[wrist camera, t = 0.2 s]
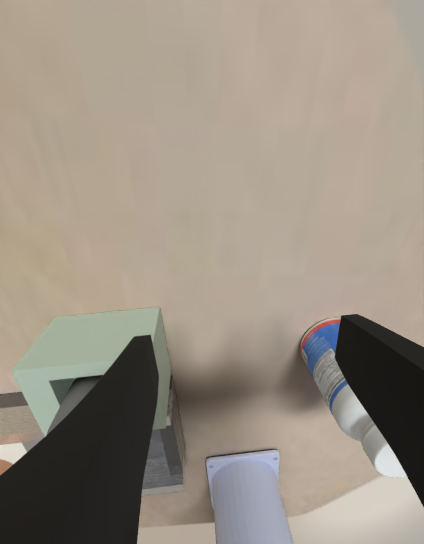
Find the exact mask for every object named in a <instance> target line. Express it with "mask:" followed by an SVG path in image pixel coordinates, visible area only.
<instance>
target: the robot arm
mask: <svg viewBox="0 0 424 544" xmlns="http://www.w3.org/2000/svg"><path fill="white" fill-rule="evenodd" d="M334 358H335V360H336V362H337V364H338V366H339V368H340V370H341V372H342V374H343V376H344V378H345V380H346V382H347V383H348V385H349V386H350V388H351V390H352V391H353V393H354V394H355V396H356V397H357V399H358V400H359V402H360V403H361V404H362V406H363V407H364V409H365V410H366V412H367V413H368V415H369V416H370V418H371V419H372V421H373V422H374V424H375V425H376V427H377V428H378V430H379V431H380V432H381V434H382V435H383V437H384V438H385V440H386V441H387V443H388V445H389V446H390V448H391V449H392V451H393V452H394V454H395V456H396V457H397V459H398V461H399V463H400V464H401V466H402V468H403V470H404V472H405V473H406V475H407V477H408V479H409V480H410V482H411V484H412V486H413V488H414V489H415V491H416V493H417V495H418V497H419V499H420V501H421V503H422V505H423V507H424V347H422V346H420V345H418V344H416V343H414V342H412V341H410V340H408V339H406V338H404V337H402V336H400V335H398V334H396V333H395V332H393V331H391V330H389V329H387V328H385V327H383V326H381V325H379V324H377V323H375V322H373V321H371V320H369V319H367V318H365V317H362V316H360V315H358V314H353V315H343V316H341V320H340V326H339V332H338V339H337V345H336V351H335V357H334ZM158 386H159V373H158V368H157V363H156V358H155V353H154V348H153V343H152V338H151V335H143V336H134V337H133V338H132V340H131V341H130V342H129V343H128V345H127V346H126V347H125V349H124V350H123V351H122V352H121V354H120V355H119V356H118V358H117V359H116V360H115V361H114V363H113V364H112V365H111V366H110V368H109V369H108V370H107V371H106V372H105V374H104V375H103V376H102V377H101V379H100V380H99V381H98V382H97V383H96V385H95V386H94V387H93V388H92V389H91V390H90V391H89V392H88V393H87V395H86V396H85V397H84V398H83V399H82V400H81V401H80V402H79V403H78V405H77V406H76V407H75V408H74V409H73V410H72V411H71V412H70V413H69V414H68V415H67V416H66V417H65V418H64V419H63V420H62V421H61V422H60V423H59V424H58V425H57V426H56V427H55V428H54V429H53V430H52V431H51V432H50V433H48V434H47V435H46V436H45V437H44V438H43V439H42V440H41V441H40V442H38V443H37V444H36V445H35V446H34V447H33V448H32V449H30V450H29V451H28V452H27V453H26V454H25V455H23V456H22V457H21V458H20V459H19V460H18V461H17V462H15V463H14V464H13V465H12V466H11V467H10V468H9V469H7V470H6V471H5V472H4V473H2V474H1V475H0V544H137V535H138V525H139V515H140V505H141V495H142V486H143V479H144V473H145V467H146V461H147V456H148V451H149V445H150V440H151V435H152V429H153V424H154V419H155V413H156V407H157V400H158ZM279 459H280V454H279V451H278V450H268V451H260V452H251V453H243V454H235V455H227V456H219V457H210V458H208V459H207V460H206V466H207V474H208V481H209V489H210V496H211V504H212V508H214V518H215V531H216V532H215V533H216V544H294V542H293V539H292V535H291V531H290V527H289V523H288V519H287V516H286V512H285V508H284V504H283V500H282V497H281V493H280V489H279V485H278V476H279Z"/></svg>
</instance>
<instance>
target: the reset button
mask: <svg viewBox="0 0 424 544" xmlns="http://www.w3.org/2000/svg"><path fill="white" fill-rule="evenodd" d="M102 376H103V375H96V376H87V377H78V378H76V379H75V380H74V381H73V382H72V384H71V386H70V388H69V390H68V392H67V394H66V396H65V398H64V400H63V402H62V404H61V406H60V407H59V409H58V411H57V413H56V415H55V417H54V419H53V421H52V423H51V425H50V427H49V429H48V432H47V434H48V433H50V432H51V431H52V430H53V429H54V428H55V427H56V426H57V425H58V424H59V423H60V422H61V421H62V420H63V419H64V418H65V417H66V416H67V415H68V414H69V413H70V412H71V411H72V410H73V409H74V408H75V407H76V406H77V405H78V403H79V402H80V401H81V400H82V399H83V398H84V397H85V396H86V395H87V393H88V392H89V391H90V390H91V389H92V388H93V387H94V386H95V385H96V383H97V382H98V381H99V380H100V379H101V377H102Z"/></svg>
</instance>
